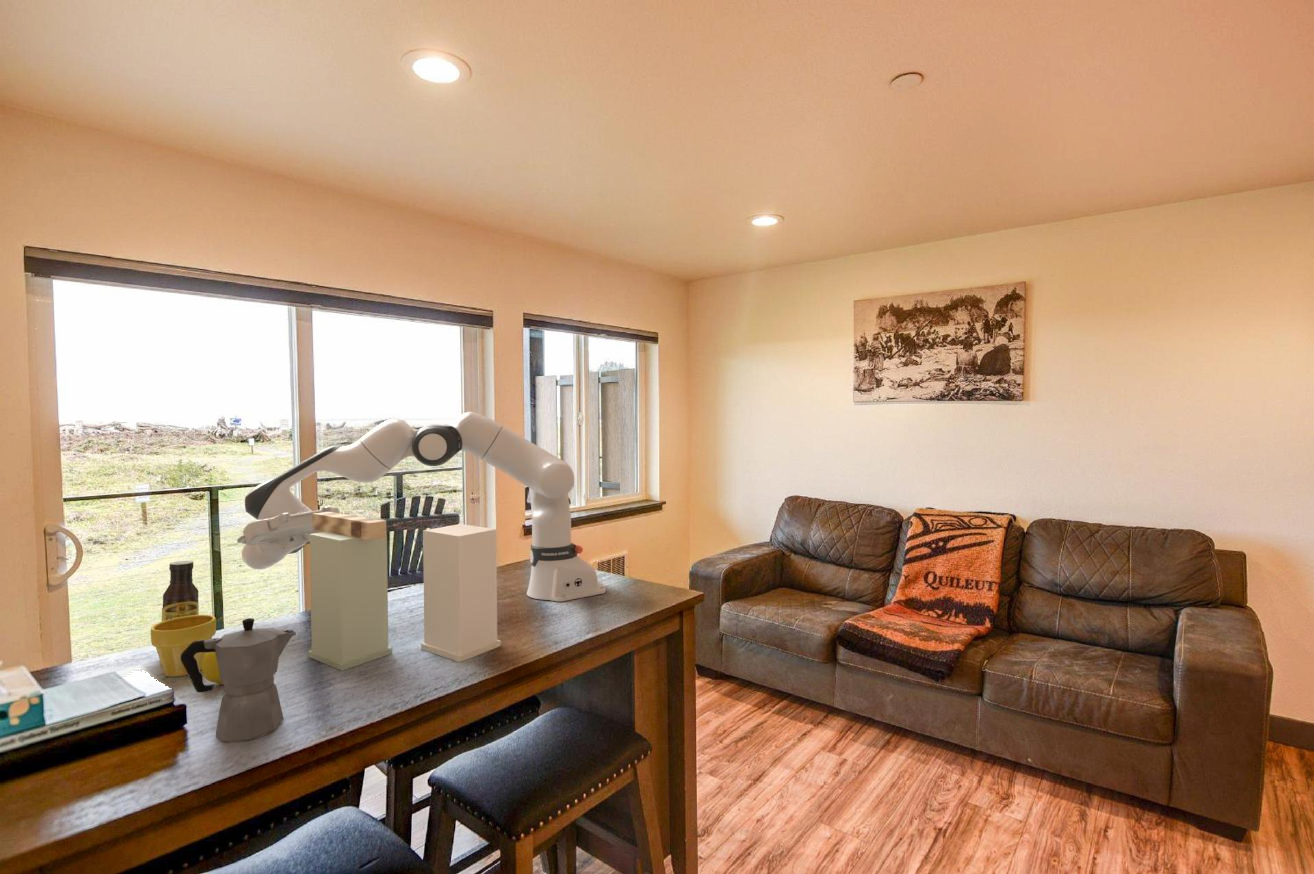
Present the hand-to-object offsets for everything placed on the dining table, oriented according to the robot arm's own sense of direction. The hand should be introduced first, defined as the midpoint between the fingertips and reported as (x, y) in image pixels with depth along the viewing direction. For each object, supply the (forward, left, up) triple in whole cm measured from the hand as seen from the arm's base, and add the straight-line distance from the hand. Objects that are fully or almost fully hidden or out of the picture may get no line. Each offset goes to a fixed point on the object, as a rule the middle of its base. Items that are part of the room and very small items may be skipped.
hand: (308, 512), depth 141 cm
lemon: (+13, +20, -29) cm, 38 cm away
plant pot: (+21, +9, -29) cm, 37 cm away
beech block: (-8, +14, -3) cm, 16 cm away
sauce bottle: (+24, -1, -29) cm, 38 cm away
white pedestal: (-30, +19, -29) cm, 46 cm away
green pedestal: (-8, +14, -29) cm, 33 cm away
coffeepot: (+6, +42, -29) cm, 52 cm away
